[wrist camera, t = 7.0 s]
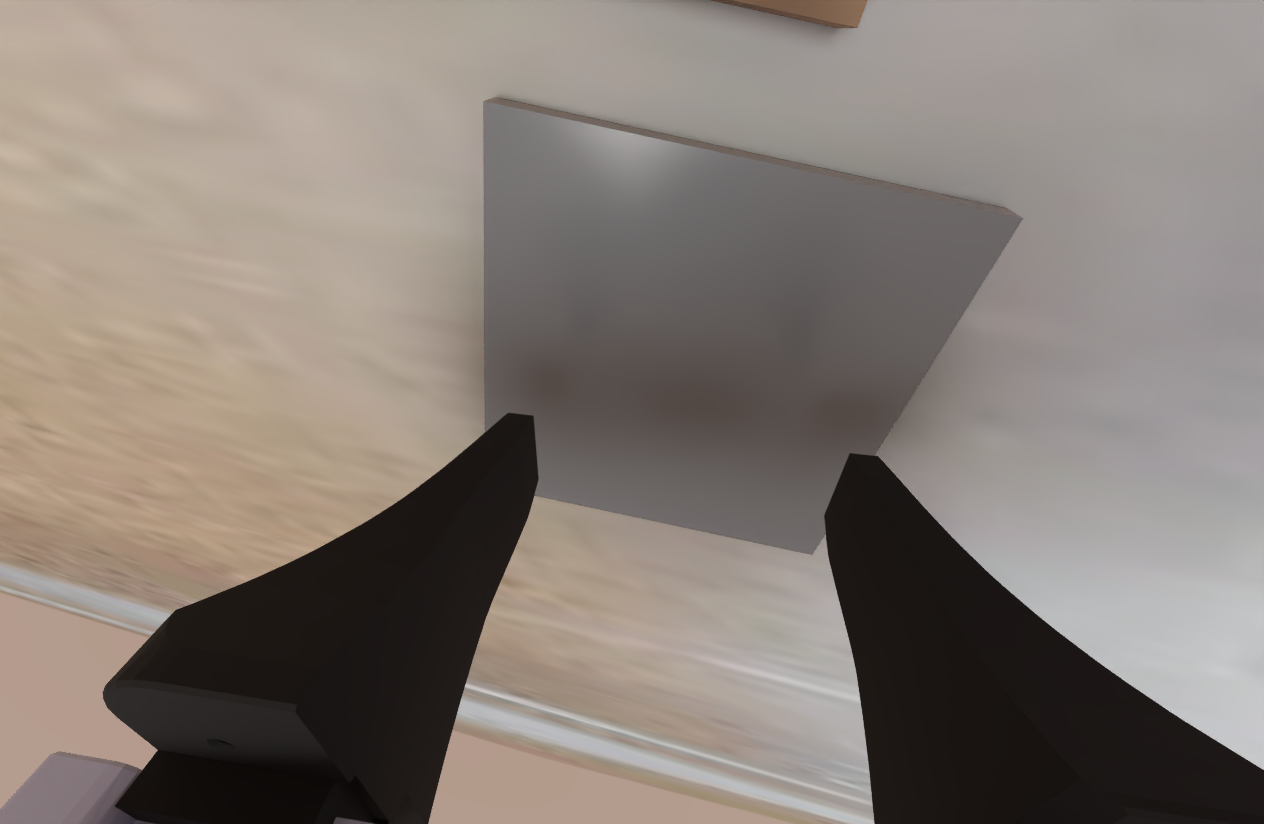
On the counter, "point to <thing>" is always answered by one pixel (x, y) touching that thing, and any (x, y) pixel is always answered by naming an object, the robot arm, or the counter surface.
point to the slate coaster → (709, 317)
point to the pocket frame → (810, 10)
